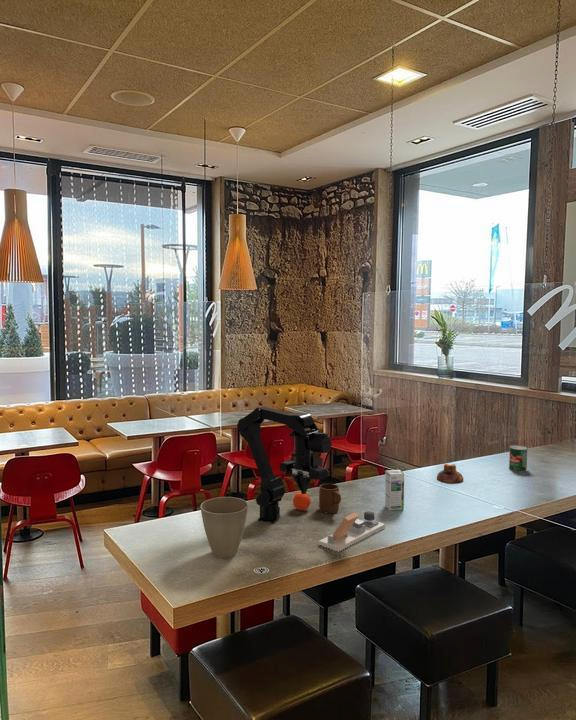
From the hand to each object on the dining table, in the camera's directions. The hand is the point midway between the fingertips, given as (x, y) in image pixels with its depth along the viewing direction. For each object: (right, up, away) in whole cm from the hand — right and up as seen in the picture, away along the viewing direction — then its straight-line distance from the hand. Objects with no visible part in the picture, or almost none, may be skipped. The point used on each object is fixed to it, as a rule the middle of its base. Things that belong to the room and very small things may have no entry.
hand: (304, 493), depth 199 cm
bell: (+68, -8, +60) cm, 91 cm away
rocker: (+18, -9, -4) cm, 20 cm away
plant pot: (-26, -15, -18) cm, 35 cm away
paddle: (+11, -12, -11) cm, 19 cm away
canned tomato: (+105, -6, +75) cm, 130 cm away
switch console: (+17, -14, -4) cm, 22 cm away
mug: (+11, -12, +18) cm, 24 cm away
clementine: (0, -11, +21) cm, 24 cm away
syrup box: (+36, -11, +23) cm, 44 cm away
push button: (+23, -9, +2) cm, 25 cm away
